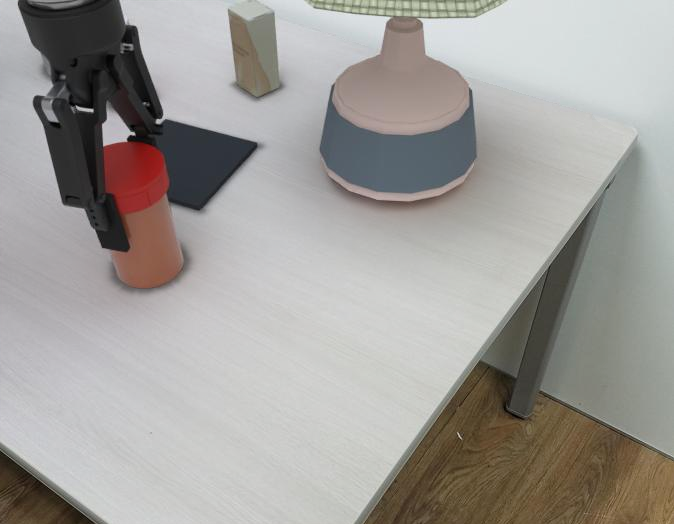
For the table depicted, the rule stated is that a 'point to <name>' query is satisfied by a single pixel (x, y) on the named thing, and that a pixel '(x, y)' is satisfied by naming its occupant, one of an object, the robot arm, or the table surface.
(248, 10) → the box
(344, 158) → the desk lamp
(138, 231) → the jar
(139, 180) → the lid
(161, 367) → the table surface
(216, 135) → the coaster
